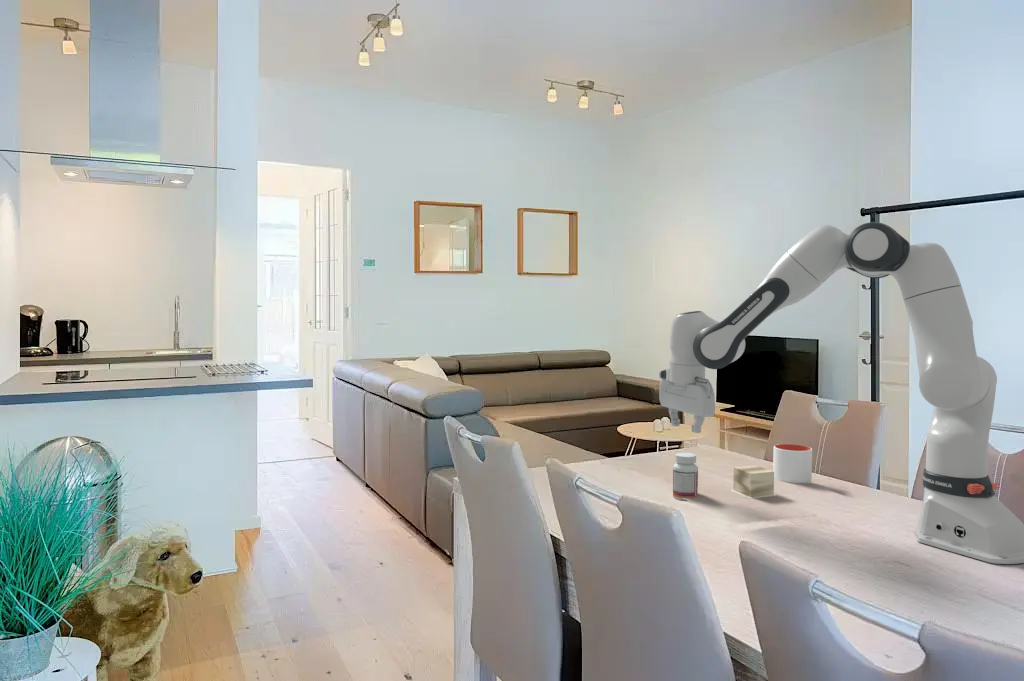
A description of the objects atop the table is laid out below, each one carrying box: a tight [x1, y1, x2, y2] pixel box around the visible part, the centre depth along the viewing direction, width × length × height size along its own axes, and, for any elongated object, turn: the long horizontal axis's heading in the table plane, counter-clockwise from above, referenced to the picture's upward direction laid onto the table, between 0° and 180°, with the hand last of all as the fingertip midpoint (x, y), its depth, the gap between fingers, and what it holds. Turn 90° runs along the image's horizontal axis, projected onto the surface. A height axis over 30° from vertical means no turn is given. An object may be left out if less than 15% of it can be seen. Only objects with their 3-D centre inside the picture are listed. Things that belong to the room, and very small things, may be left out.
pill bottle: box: [672, 452, 699, 502], centre depth 181 cm, size 6×6×11 cm
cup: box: [772, 443, 813, 485], centre depth 197 cm, size 10×10×10 cm
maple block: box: [732, 465, 775, 497], centre depth 182 cm, size 7×7×6 cm
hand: (685, 429), depth 181 cm, fingers open, 8 cm apart
